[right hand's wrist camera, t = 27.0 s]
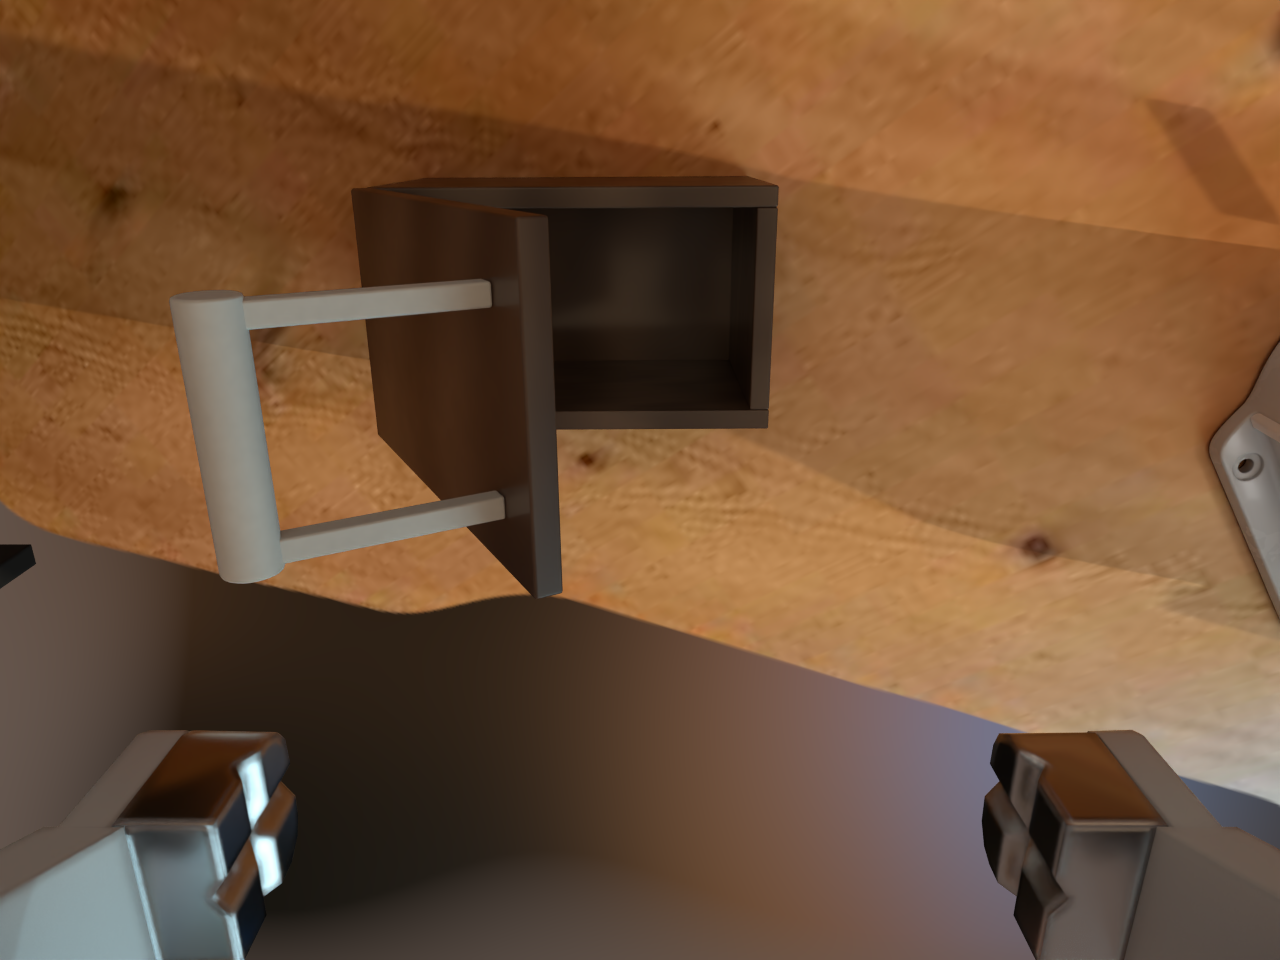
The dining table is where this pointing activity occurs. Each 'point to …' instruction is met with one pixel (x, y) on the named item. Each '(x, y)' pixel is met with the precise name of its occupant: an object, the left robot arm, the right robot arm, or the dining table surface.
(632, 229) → the chest
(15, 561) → the left robot arm
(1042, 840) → the right robot arm
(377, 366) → the lid
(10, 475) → the dining table surface
